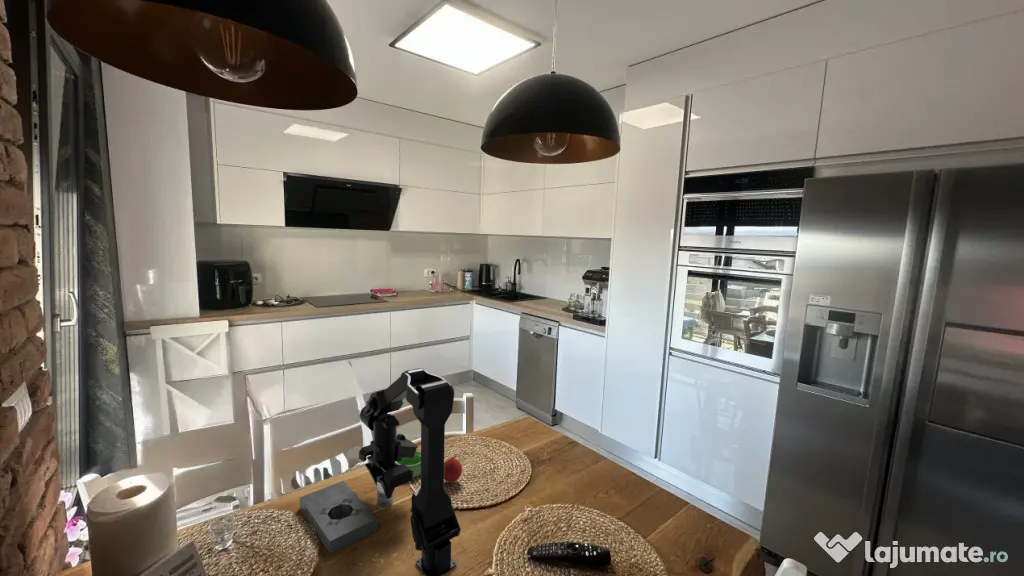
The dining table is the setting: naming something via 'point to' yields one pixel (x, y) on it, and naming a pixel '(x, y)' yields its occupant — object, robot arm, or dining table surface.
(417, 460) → the ramekin
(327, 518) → the jig
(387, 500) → the metal cylinder peg
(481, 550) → the dining table surface
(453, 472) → the onion
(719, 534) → the dining table surface
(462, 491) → the dining table surface
